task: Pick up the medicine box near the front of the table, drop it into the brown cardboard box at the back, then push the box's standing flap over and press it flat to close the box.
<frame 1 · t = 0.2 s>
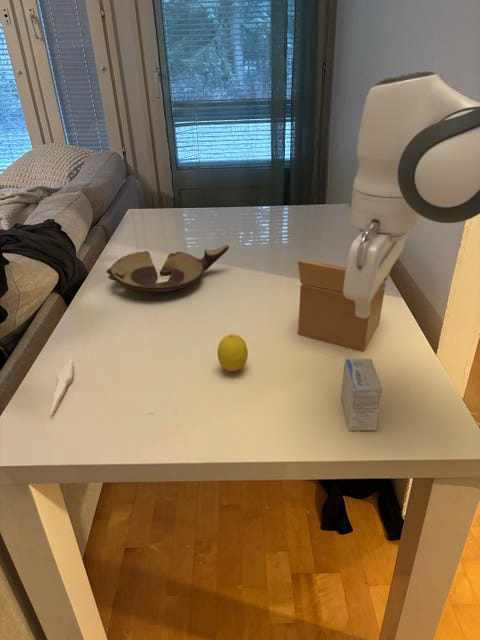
hand: (371, 301, 69), 20 cm above the table, tool pointing down, fingers open, 8 cm apart
white tapered rod: (63, 391, 84), on the table
flap: (334, 278, 86), point 15 cm above the table, hinge at 110.0°
cardboard box: (339, 328, 99), on the table
medicine box: (357, 415, 77), on the table
lemon: (233, 371, 88), on the table
broken bowl: (170, 284, 119), on the table
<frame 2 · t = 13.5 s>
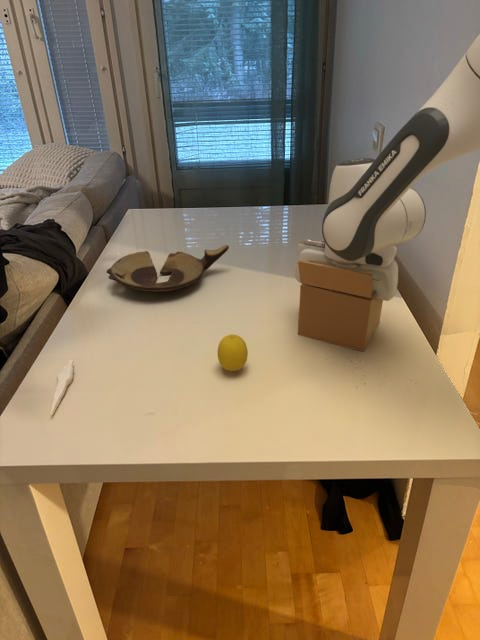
hand: (341, 308, 96), 5 cm above the table, tool pointing down, fingers open, 8 cm apart
medicine box: (339, 327, 99), resting on cardboard box
everything else where it was.
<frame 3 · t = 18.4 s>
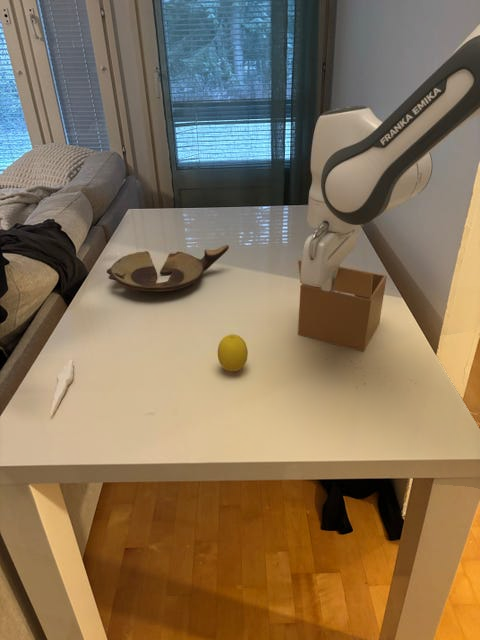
hand: (328, 287, 84), 15 cm above the table, tool pointing down, fingers closed
flap: (334, 278, 86), point 15 cm above the table, hinge at 108.5°, touching gripper
everything else where it was.
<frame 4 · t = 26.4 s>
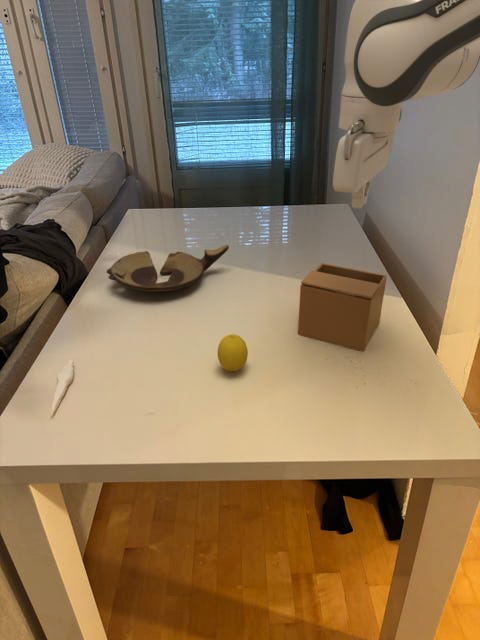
hand: (358, 205, 78), 29 cm above the table, tool pointing down, fingers closed
flap: (339, 283, 91), point 12 cm above the table, hinge at 0.0°
everything else where it was.
at the end: medicine box inside the target area in the cardboard box (0.1 cm from its centre), point 0.3 cm above the cardboard box's base; flap at +0° (first picture: +110°); the gripper is holding nothing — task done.
